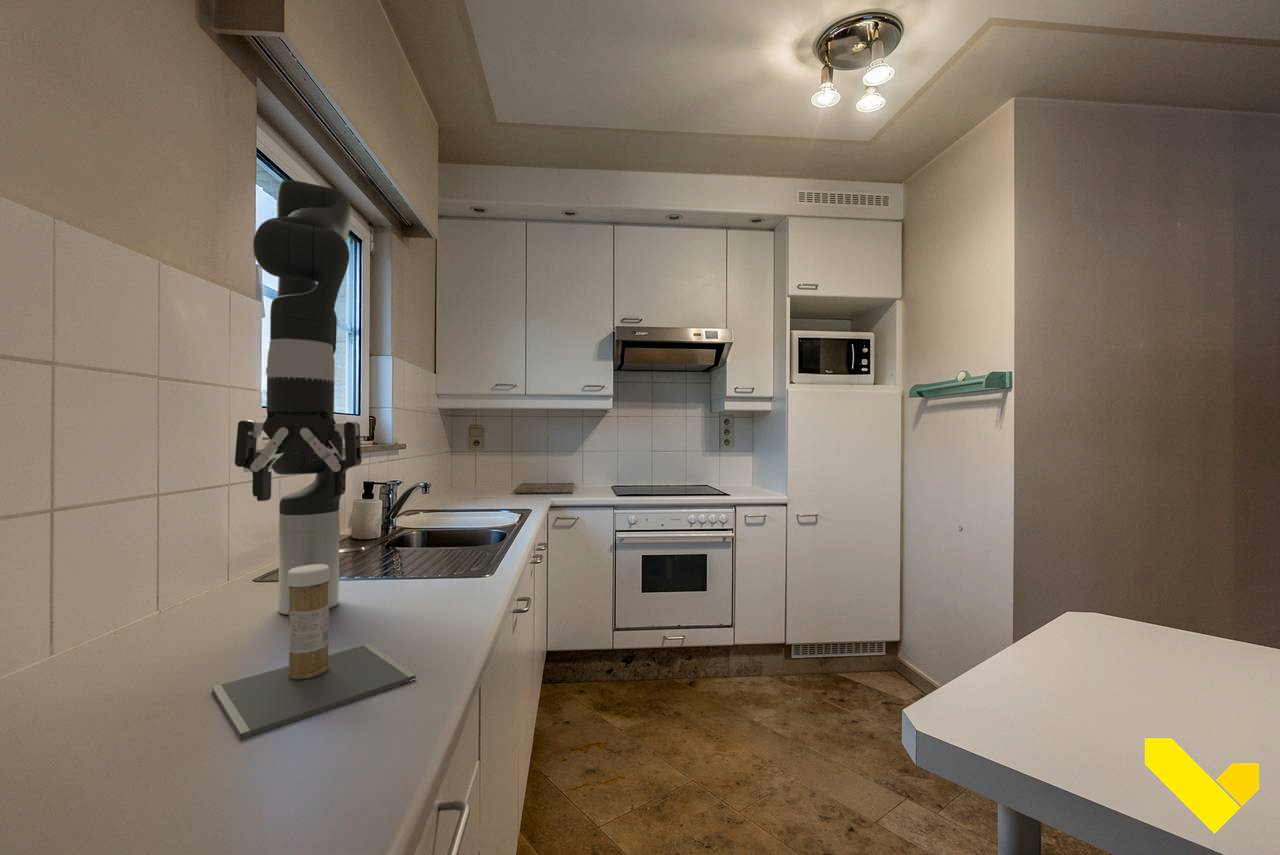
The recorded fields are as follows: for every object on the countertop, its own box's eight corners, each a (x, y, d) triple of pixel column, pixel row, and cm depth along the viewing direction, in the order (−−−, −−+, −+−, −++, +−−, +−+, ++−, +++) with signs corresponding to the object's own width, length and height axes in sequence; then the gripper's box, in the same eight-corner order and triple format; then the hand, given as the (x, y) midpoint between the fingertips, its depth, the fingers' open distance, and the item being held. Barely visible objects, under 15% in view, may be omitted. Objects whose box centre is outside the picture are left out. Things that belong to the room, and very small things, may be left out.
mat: (212, 692, 64) (212, 686, 64) (368, 648, 77) (369, 643, 77) (240, 739, 54) (240, 733, 54) (415, 680, 67) (415, 674, 67)
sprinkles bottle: (302, 665, 70) (302, 563, 70) (337, 665, 70) (337, 562, 70) (278, 681, 66) (278, 572, 66) (315, 681, 66) (315, 571, 66)
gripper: (368, 381, 75) (366, 495, 75) (256, 378, 73) (254, 496, 73) (350, 376, 68) (348, 503, 68) (224, 372, 65) (222, 504, 65)
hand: (299, 499), depth 70 cm, fingers open, 8 cm apart
